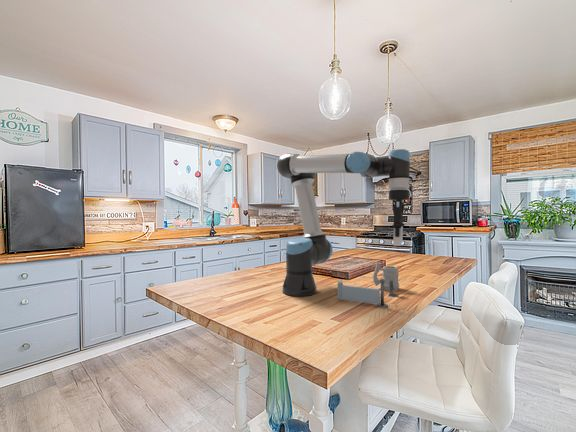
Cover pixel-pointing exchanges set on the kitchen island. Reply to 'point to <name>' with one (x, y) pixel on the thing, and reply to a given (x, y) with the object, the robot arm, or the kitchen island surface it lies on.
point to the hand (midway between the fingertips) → (398, 243)
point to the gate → (358, 293)
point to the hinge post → (382, 295)
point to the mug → (387, 276)
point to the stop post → (392, 289)
